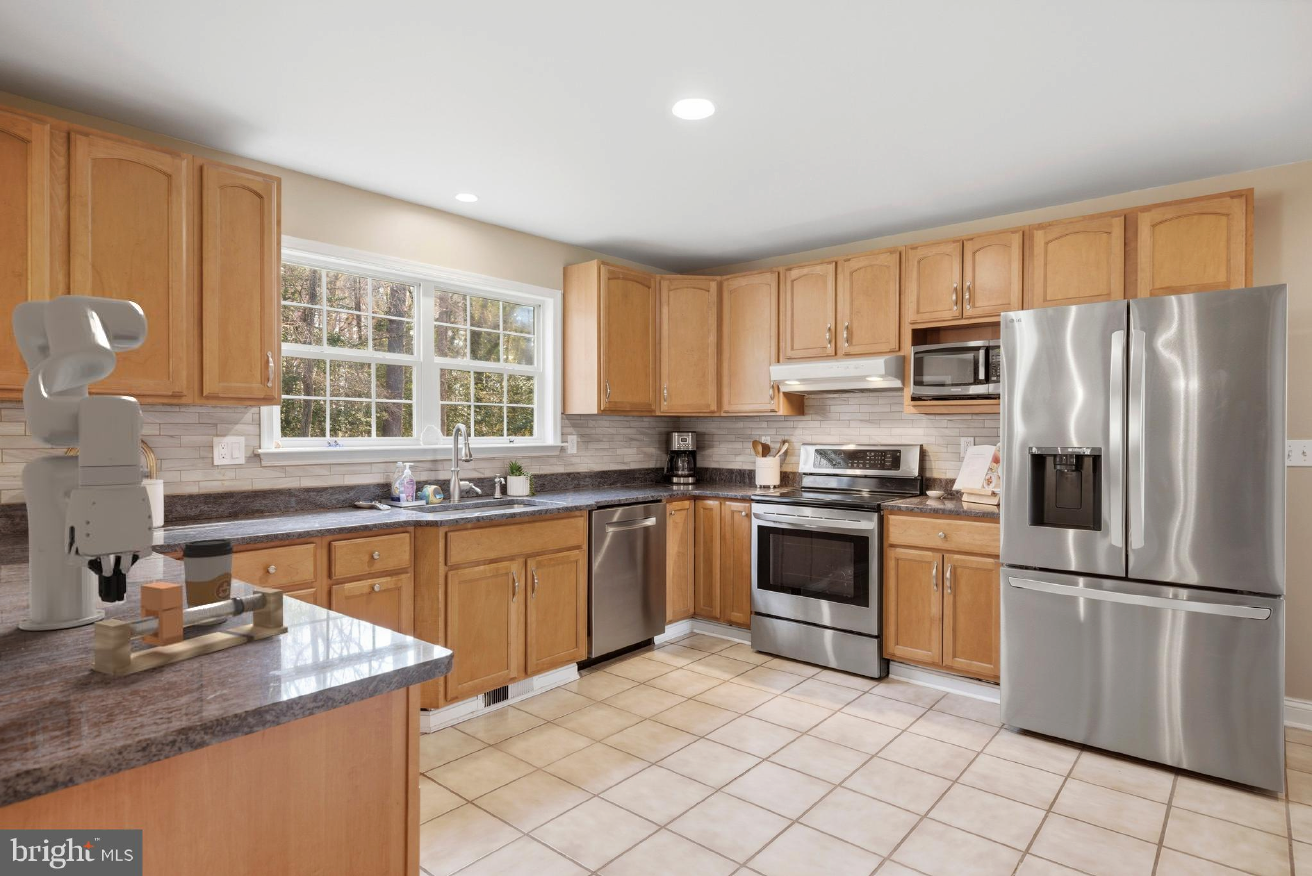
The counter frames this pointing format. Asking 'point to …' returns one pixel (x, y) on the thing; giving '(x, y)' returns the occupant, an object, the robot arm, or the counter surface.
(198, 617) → the pipe
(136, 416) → the robot arm
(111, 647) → the beige long frame
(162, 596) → the collar
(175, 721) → the counter surface
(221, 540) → the coffee cup
